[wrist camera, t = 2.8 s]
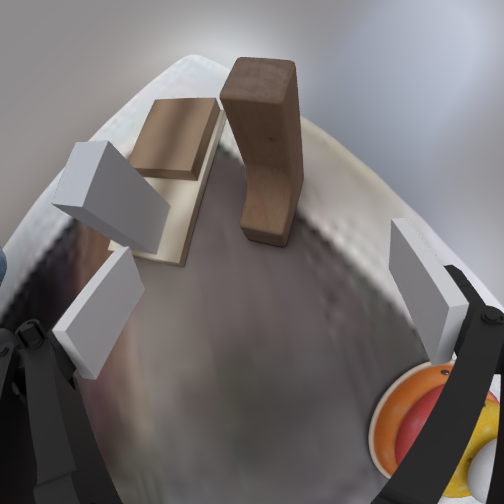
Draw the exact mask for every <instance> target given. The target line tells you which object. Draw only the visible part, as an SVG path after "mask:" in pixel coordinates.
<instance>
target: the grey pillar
mask: <svg viewBox="0 0 504 504" xmlns="http://www.w3.org/2000/svg"><path fill="white" fill-rule="evenodd" d="M51 204H52V205H54V206H56V207H57V208H59V209H61V210H62V211H64V212H65V213H67V214H69V215H70V216H72V217H74V218H75V219H77V220H79V221H80V222H82V223H84V224H85V225H87V226H89V227H90V228H92V229H94V230H95V231H97V232H99V233H101V234H102V235H104V236H106V237H107V238H109V239H111V240H113V241H114V242H116V243H118V244H120V245H121V246H123V247H130V250H134V251H139V252H144V253H150V254H155V255H157V252H158V248H159V244H160V241H161V237H162V234H163V230H164V227H165V223H166V220H167V216H168V213H169V210H170V205H169V204H168V203H167V202H166V201H165V200H164V199H163V198H162V196H161V195H160V194H159V193H158V192H157V191H156V190H155V189H154V188H153V187H152V186H151V185H150V184H149V183H148V182H147V181H146V180H145V179H144V178H143V177H142V176H141V175H140V174H139V173H138V171H137V170H136V169H135V168H134V167H133V166H132V165H131V164H130V163H129V162H128V161H127V160H126V159H125V158H124V157H123V156H122V155H121V154H120V153H119V151H118V150H117V149H116V148H115V147H114V146H113V145H112V144H111V143H110V142H109V141H92V142H76V144H75V146H74V148H73V150H72V153H71V155H70V157H69V160H68V162H67V164H66V166H65V169H64V171H63V173H62V176H61V178H60V181H59V183H58V186H57V188H56V191H55V194H54V196H53V199H52V202H51Z"/></svg>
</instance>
